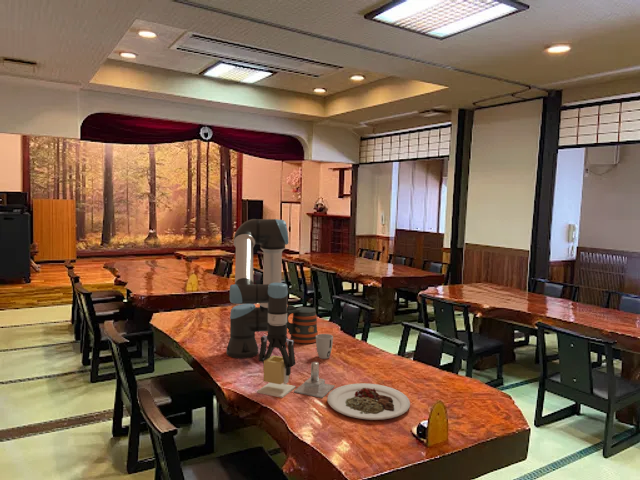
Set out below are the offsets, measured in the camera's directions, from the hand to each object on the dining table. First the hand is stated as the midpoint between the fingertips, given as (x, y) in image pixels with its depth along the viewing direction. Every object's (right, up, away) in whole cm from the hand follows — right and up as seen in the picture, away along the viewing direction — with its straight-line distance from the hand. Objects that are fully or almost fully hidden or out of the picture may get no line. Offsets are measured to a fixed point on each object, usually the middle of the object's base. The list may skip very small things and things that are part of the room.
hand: (276, 381), depth 183 cm
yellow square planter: (0, +1, 0) cm, 1 cm away
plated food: (+34, -6, -10) cm, 36 cm away
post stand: (+15, -4, +2) cm, 15 cm away
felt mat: (0, -4, 0) cm, 4 cm away
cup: (+19, -1, +40) cm, 44 cm away
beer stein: (+7, +2, +65) cm, 65 cm away
